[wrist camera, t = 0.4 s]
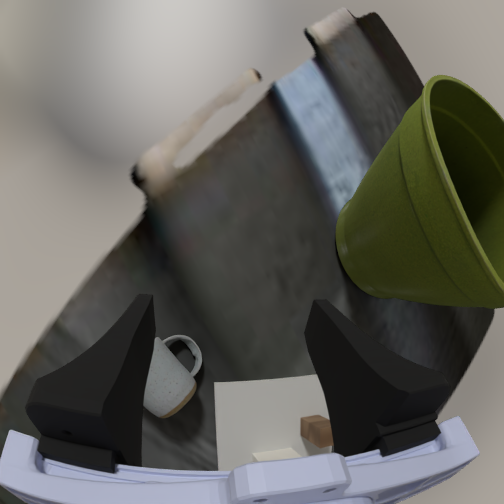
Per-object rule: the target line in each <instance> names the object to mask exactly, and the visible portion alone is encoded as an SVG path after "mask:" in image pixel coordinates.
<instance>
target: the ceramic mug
mask: <svg viewBox="0 0 504 504" xmlns="http://www.w3.org/2000/svg"><path fill="white" fill-rule="evenodd" d="M175 339H179V340H182V341H183V342H185V343H186V345H187V346H188V347H189V348H190V350H191V351H192V354H193V355H194V356H195V358H196V362H195V367H194V368H193V370H192V372H191V373H189V372H188V370H187V369H186V368H185V367H184V366H183V365H182V364H181V363H180V362H179V361H178V360H177V358H176V357H175V356H174V355H173V353H172V352H171V351H170V350H169V349H168V348H167V347H166V345H165V343H166V342H168V341H171V340H175ZM201 364H202V355H201V351H200V349H199V347H198V346H197V344H196V343H195V342H194V341H193V340H192V339H191V338H189V337H187V336H184V335H175V336H171V337H169V338H167V339H165V340H163V341H161V339H160V338H159V337H157V338H155V342H154V351H153V355H152V360H151V364H150V369H149V374H148V378H147V383H146V388H145V394H144V403H143V406H144V407H146V408H147V409H148V410H149V411H150V412H151V413H153V414H154V415H156V416H157V417H160V418H167V417H170V416H172V415H173V414H175V413H176V412H178V411H179V410H180V409H181V408H182V407H183V406H184V405H185V404H186V403H187V402H188V401H189V400H190V399H191V397H192V396H193V394H194V393H195V391H196V382H195V380H194V378H193V376H195V375H196V373H197V372H198V371H199V369H200V367H201Z"/></svg>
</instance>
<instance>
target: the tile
mask: <svg viewBox="0 0 504 504" xmlns="http://www.w3.org/2000/svg"><path fill="white" fill-rule="evenodd" d="M298 457H302V456H301V455H299V454H298V453H297V452H296V451H295V450H293V449H292V448H286V449H280V450H273V451H266V452H259V453H252V460H253V462H259V461H270V460H281V459H290V458H298Z"/></svg>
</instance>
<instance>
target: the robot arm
mask: <svg viewBox="0 0 504 504" xmlns="http://www.w3.org/2000/svg"><path fill="white" fill-rule="evenodd" d="M155 332H156V327H155V317H154V305H153V295H148V294H139V295H137V297H136V298H135V299H134V301H133V302H132V303H131V305H130V306H129V307H128V308H127V310H126V311H125V312H124V313H123V315H122V316H121V317H120V318H119V319H118V321H117V322H116V323H115V324H114V325H113V326H112V327H111V328H110V329H109V330H108V331H107V332H106V334H105V335H104V336H103V337H102V338H100V339H99V340H98V341H97V342H96V343H95V344H94V345H93V346H92V347H90V348H89V349H88V350H87V351H85V352H84V353H83V354H81V355H80V356H79V357H77V358H76V359H74V360H73V361H71V362H70V363H68V364H66V365H65V366H63V367H61V368H59V369H58V370H56V371H54V372H52V373H50V374H47V375H45V376H43V377H41V378H39V379H37V380H36V382H35V384H34V386H33V388H32V391H31V393H30V396H29V399H28V401H27V404H26V407H25V409H26V413H27V415H28V416H29V418H30V420H31V421H32V422H33V424H34V425H35V426H36V428H37V429H38V430H39V432H40V433H41V438H40V441H39V440H37V439H36V438H34V437H31V436H29V435H25V434H22V433H19V432H16V431H13V430H9V433H8V436H7V439H6V442H5V446H4V449H3V452H2V456H1V459H0V485H1V486H3V487H4V488H5V489H7V490H8V491H10V492H11V493H12V494H14V495H15V496H17V497H18V498H20V499H21V500H23V501H24V502H26V503H28V504H396V503H398V502H401V501H403V500H405V499H408V498H410V497H412V496H414V495H416V494H418V493H421V492H423V491H425V490H427V489H429V488H431V487H433V486H435V485H437V484H439V483H441V482H443V481H445V480H447V479H449V478H451V477H452V476H453V475H455V474H456V473H457V472H459V471H460V470H461V469H463V468H464V467H465V466H466V465H468V464H469V463H470V462H471V461H472V460H474V459H475V458H476V457H477V456H478V455H479V454H480V452H479V450H478V449H477V447H476V445H475V443H474V441H473V439H472V438H471V436H470V434H469V432H468V430H467V429H466V427H465V425H464V423H463V422H462V420H461V418H460V416H456V417H453V418H451V419H448V420H446V421H444V422H441V423H440V424H439V425H437V424H436V422H435V420H436V419H437V418H438V416H437V414H436V413H435V411H436V410H437V409H438V407H439V406H440V405H441V404H442V403H443V401H444V400H445V399H446V397H447V396H448V394H449V391H450V385H449V383H448V382H447V380H446V379H445V377H444V376H443V374H442V373H441V372H438V371H435V370H432V369H429V368H426V367H423V366H420V365H418V364H416V363H413V362H411V361H409V360H407V359H405V358H403V357H401V356H399V355H397V354H395V353H393V352H392V351H390V350H388V349H387V348H385V347H384V346H382V345H381V344H379V343H378V342H376V341H375V340H373V339H372V338H371V337H369V336H368V335H367V334H365V333H364V332H363V331H362V330H360V329H359V328H358V327H357V326H356V325H354V324H353V323H352V322H351V321H350V320H349V319H348V318H346V317H345V316H344V315H343V314H342V313H341V312H340V311H339V310H338V309H337V308H335V307H334V306H333V305H332V304H331V303H330V302H328V301H327V300H314V301H313V305H312V308H311V312H310V315H309V318H308V322H307V325H306V329H305V332H304V333H305V338H306V343H307V348H308V352H309V355H310V357H311V360H312V363H313V366H314V368H315V371H316V374H317V376H318V379H319V382H320V384H321V387H322V390H323V393H324V397H325V401H326V405H327V409H328V414H329V419H330V424H331V430H332V437H333V443H334V452H335V453H326V454H319V455H312V456H306V457H298V458H290V459H281V460H270V461H259V462H253V463H247V464H244V465H241V466H238V467H236V468H235V469H234V470H232V471H185V470H167V469H154V468H144V467H142V457H141V448H142V417H143V403H144V394H145V388H146V383H147V378H148V374H149V369H150V364H151V360H152V355H153V351H154V342H155Z"/></svg>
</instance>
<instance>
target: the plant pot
mask: <svg viewBox="0 0 504 504" xmlns="http://www.w3.org/2000/svg"><path fill="white" fill-rule="evenodd" d="M336 245H337V250H338V255H339V258H340V260H341V263H342V265H343V267H344V269H345V271H346V272H347V274H348V276H349V277H350V278H351V280H352V281H353V282H354V283H355V284H356V285H357V286H358V287H359V288H360V289H361V290H363V291H364V292H366V293H367V294H369V295H371V296H374V297H377V298H382V299H390V298H397V299H402V300H407V301H413V302H419V303H426V304H433V305H444V306H458V307H486V308H491V309H495V308H503V307H504V120H503V118H502V117H501V116H500V115H499V113H498V112H497V111H496V110H495V109H494V108H493V107H492V106H491V105H490V104H489V103H488V102H487V101H486V100H485V99H484V98H483V97H482V96H481V95H480V94H479V93H478V92H476V91H475V90H474V89H473V88H471V87H470V86H468V85H467V84H465V83H463V82H462V81H460V80H458V79H456V78H453V77H450V76H445V75H437V76H434V77H432V78H431V79H430V80H429V81H428V82H427V83H426V84H425V86H424V88H423V92H422V95H421V97H420V98H419V99H418V100H417V101H416V102H415V103H414V104H413V105H412V106H411V107H410V108H409V109H408V111H407V112H406V113H405V115H404V117H403V119H402V122H401V123H400V124H399V126H398V127H397V129H396V130H395V131H394V133H393V134H392V136H391V137H390V138H389V140H388V141H387V143H386V144H385V146H384V147H383V149H382V150H381V151H380V153H379V154H378V156H377V157H376V159H375V160H374V162H373V164H372V165H371V167H370V168H369V170H368V171H367V173H366V175H365V176H364V178H363V180H362V181H361V183H360V185H359V187H358V188H357V190H356V192H355V194H354V196H353V197H352V199H350V200H349V201H348V202H347V203H346V204H345V206H344V207H343V208H342V210H341V212H340V214H339V217H338V220H337V225H336Z"/></svg>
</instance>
